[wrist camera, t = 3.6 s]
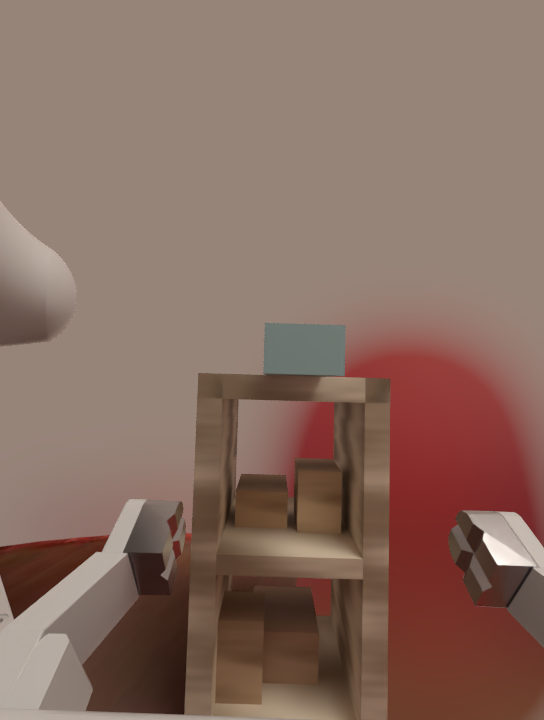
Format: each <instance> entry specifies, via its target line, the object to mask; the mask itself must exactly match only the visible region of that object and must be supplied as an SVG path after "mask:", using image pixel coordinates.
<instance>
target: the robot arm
mask: <svg viewBox="0 0 544 720" xmlns="http://www.w3.org/2000/svg"><path fill="white" fill-rule="evenodd" d="M76 301H77V293H76V286H75V282H74V279H73V277H72V274H71V272H70V270H69V268H68V267H67V265H66V264H65V263H64V261H63V260H62V259H61V257H60V256H59V255H58V254H57V253H56V252H55V251H53V250H52V249H50V248H49V247H47V246H46V245H44V244H43V243H42V242H40V241H39V240H38V239H36V238H35V237H34V236H33V235H32V234H30V233H29V232H28V231H27V230H26V229H25V228H24V227H23V226H22V225H21V224H20V223H19V222H18V221H17V220H16V219H15V218H14V217H13V216H12V215H11V213H10V212H9V211H8V210H7V209H6V207H5V206H4V205H3V204H2V202H1V201H0V346H12V345H23V344H31V343H41V342H49V341H51V340H53V339H54V338H56V337H57V336H58V335H59V334H60V333H61V332H62V331H63V330H64V329H65V328H66V327H67V325H68V324H69V322H70V321H71V319H72V317H73V314H74V312H75V308H76ZM182 513H183V504H182V502H178V501H162V500H145V499H130V500H129V501H128V502H127V503H126V504H125V506H124V508H123V510H122V512H121V514H120V516H119V518H118V520H117V522H116V524H115V526H114V528H113V530H112V532H111V534H110V536H109V538H108V540H107V542H106V544H105V546H104V549H103V551H102V552H96V553H95V554H94V555H92V556H91V557H90V558H89V559H87V560H86V561H85V562H84V563H83V564H81V565H80V566H79V567H78V568H77V569H75V570H74V571H73V572H72V573H70V574H69V575H68V576H67V577H66V578H64V579H63V580H62V581H61V582H60V583H58V584H57V585H56V586H55V587H53V588H52V589H51V590H50V591H49V592H47V593H46V594H45V595H44V596H43V597H41V598H40V599H39V600H38V601H36V602H35V603H34V604H33V605H32V606H30V607H29V608H28V609H27V610H26V611H24V612H23V613H22V614H21V615H20V616H18V617H17V618H16V619H15V620H14V618H13V615H12V612H11V608H10V605H9V602H8V599H7V596H6V592H5V589H4V586H3V583H2V580H1V576H0V720H313V719H286V718H259V717H231V716H204V715H177V714H149V713H122V712H95V711H86V708H87V705H88V702H89V700H90V697H91V694H92V691H93V689H92V686H91V683H90V681H89V679H88V677H87V675H86V673H85V671H84V669H83V667H82V664H83V663H84V662H85V661H86V660H87V658H88V657H89V656H90V655H91V654H92V653H93V651H94V650H95V649H96V648H97V647H98V645H99V644H100V643H101V642H102V641H103V639H104V638H105V637H106V636H107V635H108V634H109V632H110V631H111V630H112V629H113V628H114V626H115V625H116V624H117V623H118V622H119V621H120V619H121V618H122V617H123V616H124V615H125V613H126V612H127V611H128V610H129V609H130V607H131V606H132V605H133V604H134V603H135V602H136V600H137V599H138V598H139V595H170V594H171V591H172V587H173V583H174V580H175V576H176V572H177V566H176V559H177V558H178V557H179V556H180V555H181V554H182V550H183V546H184V540H185V528H186V525H185V520H184V519H183V518H182V517H181V516H182ZM456 521H457V523H458V525H457V526H455V527H454V528H452V529H451V531H450V534H449V548H450V552H451V555H452V557H453V560H454V562H455V564H456V565H457V566H458V567H459V568H460V569H462V570H463V571H464V572H465V573H464V578H463V581H464V583H465V585H466V588H467V590H468V592H469V594H470V596H471V598H472V600H473V602H474V604H475V606H485V607H500V608H508V609H507V610H508V611H509V612H510V613H511V614H512V616H514V618H515V619H516V620H517V621H518V622H519V623H520V624H521V625H522V626H523V627H524V628H525V629H526V630H527V631H528V632H529V633H530V634H531V635H532V636H533V637H534V638H535V639H536V640H537V641H538V642H539V643H540V644H541V645H542V646H543V647H544V548H543V546H542V545H541V544H540V542H539V541H538V539H537V538H536V537H535V535H534V534H533V533H532V531H531V530H530V529H529V528H528V526H527V525H526V523H525V522H524V521H523V519H522V518H521V517H520V516H519V515H518V514H516V513H515V512H495V511H460V512H459V513H458V514H457V517H456Z"/></svg>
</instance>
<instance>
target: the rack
mask: <svg viewBox="0 0 544 720" xmlns="http://www.w3.org/2000/svg"><path fill="white" fill-rule="evenodd" d="M238 399H251V400H285V401H288V400H289V401H320V402H335V405H334V409H335V410H334V460H332V459H304V458H295V479H294V480H295V482H294V497H293V498H292V497H288V489H287V482H286V475H260V474H259V475H258V474H241V477H240V480H239V483H238V486H237V489H236V496H235V486H236V457H237V456H236V454H237V427H238ZM389 454H390V379H381V378H347V377H345V378H344V377H313V376H278V375H242V374H209V373H199V374H198V396H197V421H196V445H195V469H194V493H193V494H194V495H193V517H192V541H191V565H190V590H189V614H188V638H187V662H186V687H185V711H184V715H204V716H231V717H259V718H286V719H313V720H387V671H388V564H389V563H388V562H389V456H390V455H389ZM232 575H234V576H267V577H300V578H301V577H302V578H331V616H316V615H315V608H314V604H313V598H312V593H311V588H310V587H280V586H254V592H250V591H232Z"/></svg>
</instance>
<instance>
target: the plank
mask: <svg viewBox="0 0 544 720" xmlns="http://www.w3.org/2000/svg"><path fill="white" fill-rule="evenodd" d="M264 374H265V375H278V376H313V377H327V376H344V375H345V325H314V324H313V325H312V324H279V323H265V340H264Z"/></svg>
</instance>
